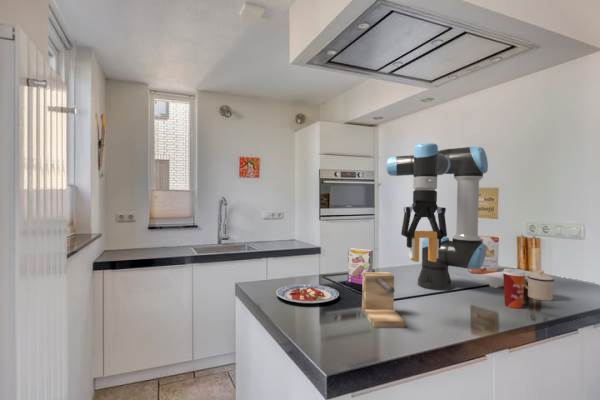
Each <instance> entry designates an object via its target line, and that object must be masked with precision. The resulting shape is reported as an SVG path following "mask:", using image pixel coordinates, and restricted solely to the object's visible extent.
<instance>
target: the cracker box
mask: <svg viewBox="0 0 600 400" xmlns="http://www.w3.org/2000/svg"><path fill="white" fill-rule="evenodd" d="M478 236H479V237H480V238H481V239H482V243H483V244H485V245H486V255H485V259H484V263H483V265H482V267H481V268H480V269H477V270H476V269H467V270H468V272H469V273H471V274H481V275H482V274H488V273H495V272H499V271H498V269H499V250H500V249H499V245H500V243H499V242H500V240H499V239H500V238H499V237H498V236H495V235H494V236H491V235H490V236H489V235H478Z"/></svg>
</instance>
